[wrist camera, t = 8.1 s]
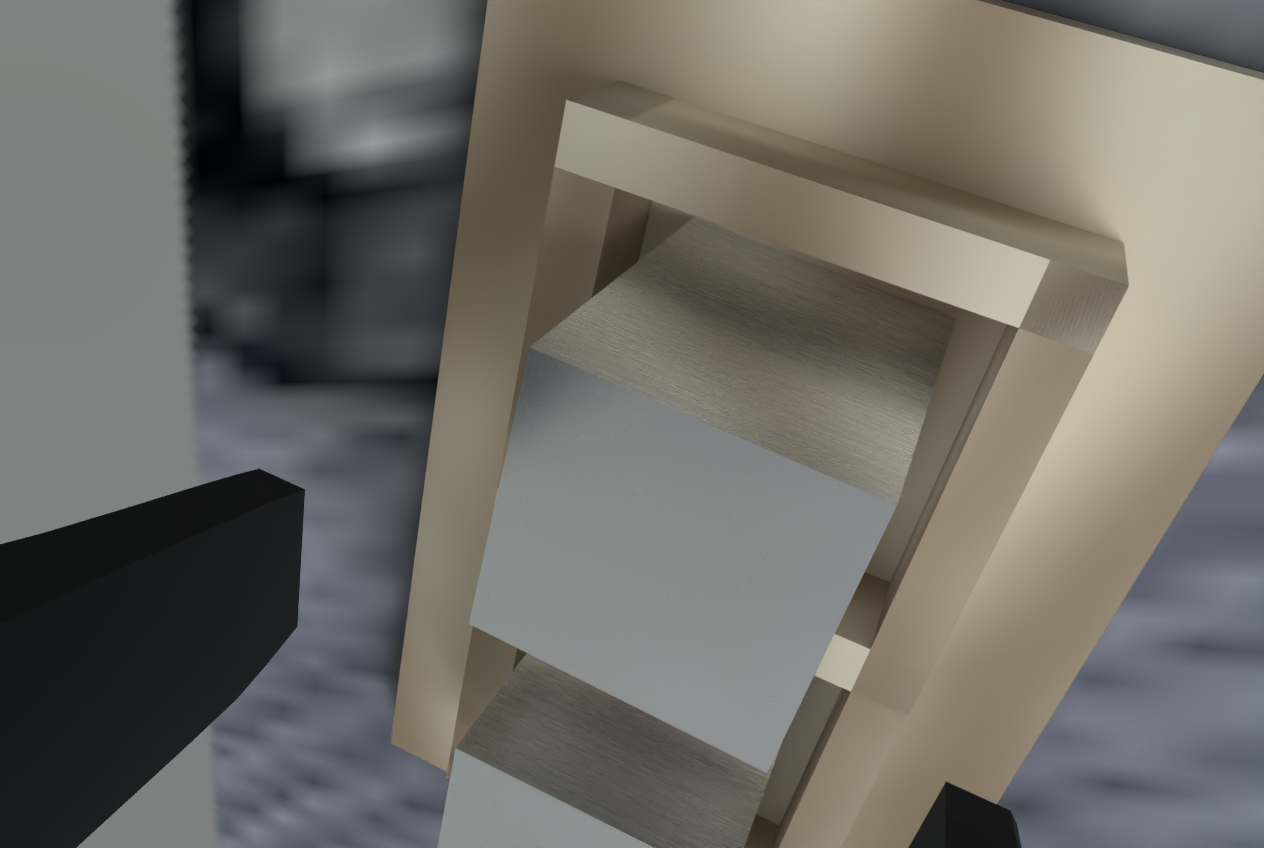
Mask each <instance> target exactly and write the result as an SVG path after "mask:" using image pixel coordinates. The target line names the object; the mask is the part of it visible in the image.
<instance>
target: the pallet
mask: <svg viewBox="0 0 1264 848" xmlns="http://www.w3.org/2000/svg"><path fill="white" fill-rule="evenodd" d="M694 217H695V218H697V219H700V220H703V221H705V222H708V223H710V224H713V225H716V226H718V227H721V228H723V229H726V230H729V231H731V232H734V233H736V234H739V235H741V236H744V237H747V238H749V239H752V240H754V241H757V242H760V243H762V244H765V245H767V246H770V247H772V248H775V249H778V250H780V251H783V252H785V253H788V254H791V255H793V256H796V257H798V258H801V259H803V260H806V261H809V262H811V263H814V264H816V265H819V266H822V267H824V268H827V269H829V270H832V271H834V272H837V273H840V274H842V275H845V276H847V277H850V278H853V279H855V280H858V281H860V282H863V283H865V284H868V285H871V286H873V287H876V288H878V289H881V290H884V291H886V292H889V293H891V294H894V295H896V296H899V297H902V298H904V299H907V300H909V301H912V302H915V303H917V304H920V305H922V306H925V307H927V308H930V309H933V310H935V311H938V312H940V313H943V314H946V315H948V316H951V317H953V318H956V321H955V324H954V327H953V330H952V333H951V337H950V340H949V343H948V346H947V349H946V352H945V355H944V359H943V362H942V365H941V368H940V371H939V374H938V378H937V381H936V384H935V387H934V390H933V393H932V397H931V400H930V403H929V406H928V409H927V412H926V415H925V419H924V422H923V425H922V428H921V431H920V434H919V438H918V441H917V444H916V447H915V450H914V453H913V457H912V460H911V463H910V466H909V469H908V472H907V475H906V479H905V482H904V485H903V488H902V491H901V494H900V498H899V501H898V504H897V506H896V509H895V511H894V513H893V515H892V517H891V519H890V521H889V523H888V525H887V527H886V529H885V531H884V533H883V535H882V537H881V539H880V541H879V544H878V546H877V548H876V550H875V552H874V554H873V556H872V558H871V560H870V562H869V564H868V566H867V568H866V570H865V572H864V574H863V576H862V578H861V581H860V583H859V585H858V587H857V589H856V591H855V593H854V595H853V597H852V599H851V601H850V603H849V605H848V607H847V609H846V611H845V613H844V616H843V618H842V620H841V622H840V624H839V626H838V628H837V630H836V632H835V634H834V636H833V638H832V640H831V642H830V644H829V646H828V648H827V650H826V653H825V655H824V657H823V659H822V661H821V663H820V665H819V667H818V669H817V671H816V673H815V675H814V677H813V679H812V681H811V683H810V685H809V688H808V690H807V692H806V694H805V696H804V698H803V700H802V702H801V704H800V706H799V708H798V710H797V712H796V714H795V716H794V718H793V720H792V722H791V725H790V727H789V729H788V731H787V733H786V735H785V737H784V739H783V741H782V744H781V747H780V749H779V752H778V755H777V758H776V760H775V763H774V766H773V769H772V771H771V774H770V777H769V780H768V782H767V785H766V788H765V790H764V793H763V796H762V799H761V801H760V804H759V807H758V810H757V812H756V815H755V818H754V821H753V823H752V826H751V829H750V832H749V834H748V837H747V840H746V843H745V845H744V848H909V846H910V844H911V842H912V840H913V839H914V837H915V835H916V833H917V832H918V830H919V828H920V826H921V825H922V823H923V821H924V819H925V818H926V816H927V814H928V812H929V811H930V809H931V807H932V805H933V804H934V802H935V800H936V798H937V796H938V795H939V793H940V791H941V789H942V788H943V786H944V784H945V782H949V783H951V784H953V785H955V786H957V787H960V788H962V789H964V790H966V791H968V792H971V793H973V794H975V795H977V796H979V797H981V798H984V799H986V800H988V801H990V802H992V803H995V804H997V803H998V802H999V800H1000V798H1001V797H1002V795H1003V793H1004V792H1005V790H1006V789H1007V787H1008V785H1009V784H1010V782H1011V781H1012V779H1013V777H1014V776H1015V774H1016V772H1017V771H1018V769H1019V768H1020V766H1021V764H1022V763H1023V761H1024V760H1025V758H1026V756H1027V755H1028V753H1029V751H1030V750H1031V748H1032V747H1033V745H1034V743H1035V742H1036V740H1037V739H1038V737H1039V735H1040V734H1041V732H1042V730H1043V729H1044V727H1045V726H1046V724H1047V722H1048V721H1049V719H1050V718H1051V716H1052V714H1053V713H1054V711H1055V709H1056V708H1057V706H1058V705H1059V703H1060V701H1061V700H1062V698H1063V697H1064V695H1065V693H1066V692H1067V690H1068V689H1069V687H1070V685H1071V684H1072V682H1073V680H1074V679H1075V677H1076V676H1077V674H1078V672H1079V671H1080V669H1081V668H1082V666H1083V664H1084V663H1085V661H1086V659H1087V658H1088V656H1089V655H1090V653H1091V651H1092V650H1093V648H1094V647H1095V645H1096V643H1097V642H1098V640H1099V638H1100V637H1101V635H1102V634H1103V632H1104V630H1105V629H1106V627H1107V626H1108V624H1109V622H1110V621H1111V619H1112V617H1113V616H1114V614H1115V613H1116V611H1117V609H1118V608H1119V606H1120V605H1121V603H1122V601H1123V600H1124V598H1125V596H1126V595H1127V593H1128V592H1129V590H1130V588H1131V587H1132V585H1133V584H1134V582H1135V580H1136V579H1137V577H1138V576H1139V574H1140V572H1141V571H1142V569H1143V567H1144V566H1145V564H1146V563H1147V561H1148V559H1149V558H1150V556H1151V555H1152V553H1153V551H1154V550H1155V548H1156V546H1157V545H1158V543H1159V542H1160V540H1161V538H1162V537H1163V535H1164V534H1165V532H1166V530H1167V529H1168V527H1169V525H1170V524H1171V522H1172V521H1173V519H1174V517H1175V516H1176V514H1177V513H1178V511H1179V509H1180V508H1181V506H1182V504H1183V503H1184V501H1185V500H1186V498H1187V496H1188V495H1189V493H1190V492H1191V490H1192V488H1193V487H1194V485H1195V483H1196V482H1197V480H1198V479H1199V477H1200V475H1201V474H1202V472H1203V471H1204V469H1205V467H1206V466H1207V464H1208V463H1209V461H1210V459H1211V458H1212V456H1213V454H1214V453H1215V451H1216V450H1217V448H1218V446H1219V445H1220V443H1221V442H1222V440H1223V438H1224V437H1225V435H1226V433H1227V432H1228V430H1229V429H1230V427H1231V425H1232V424H1233V422H1234V421H1235V419H1236V417H1237V416H1238V414H1239V412H1240V411H1241V409H1242V408H1243V406H1244V404H1245V403H1246V401H1247V400H1248V398H1249V396H1250V395H1251V393H1252V391H1253V390H1254V388H1255V387H1256V385H1257V383H1258V382H1259V380H1260V379H1261V377H1262V375H1263V374H1264V73H1262V72H1259V71H1255V70H1252V69H1248V68H1244V67H1241V66H1237V65H1234V64H1230V63H1226V62H1223V61H1219V60H1215V59H1212V58H1208V57H1205V56H1201V55H1197V54H1194V53H1190V52H1187V51H1183V50H1179V49H1176V48H1172V47H1169V46H1165V45H1161V44H1158V43H1154V42H1151V41H1147V40H1143V39H1140V38H1136V37H1133V36H1129V35H1125V34H1122V33H1118V32H1115V31H1111V30H1107V29H1104V28H1100V27H1097V26H1093V25H1089V24H1086V23H1082V22H1079V21H1075V20H1071V19H1068V18H1064V17H1061V16H1057V15H1053V14H1050V13H1046V12H1043V11H1039V10H1035V9H1032V8H1028V7H1025V6H1021V5H1017V4H1014V3H1010V2H1007V1H1003V0H488V2H487V10H486V17H485V25H484V33H483V40H482V48H481V56H480V63H479V71H478V78H477V86H476V94H475V101H474V109H473V117H472V124H471V132H470V140H469V147H468V155H467V162H466V170H465V178H464V185H463V193H462V201H461V208H460V216H459V224H458V231H457V239H456V246H455V254H454V262H453V269H452V277H451V285H450V292H449V300H448V308H447V315H446V323H445V330H444V338H443V346H442V353H441V361H440V369H439V376H438V384H437V392H436V399H435V407H434V414H433V422H432V430H431V437H430V445H429V453H428V460H427V468H426V476H425V483H424V491H423V498H422V506H421V514H420V521H419V529H418V537H417V544H416V552H415V560H414V567H413V575H412V582H411V590H410V598H409V605H408V613H407V621H406V628H405V636H404V644H403V651H402V659H401V666H400V674H399V682H398V689H397V697H396V705H395V712H394V720H393V728H392V735H391V744H393V745H395V746H397V747H399V748H401V749H403V750H405V751H407V752H409V753H411V754H413V755H415V756H417V757H419V758H421V759H423V760H424V761H426V762H428V763H430V764H432V765H434V766H436V767H438V768H440V769H442V770H444V771H446V772H447V774H446V779H448V780H450V776H451V770H452V764H453V759H454V753H455V748H456V747H457V745H458V744H459V743H460V741H461V740H462V739H463V737H464V736H465V735H466V733H467V732H468V731H469V729H470V728H471V727H472V725H473V724H474V723H475V721H476V720H477V719H478V717H479V716H480V715H481V713H482V712H483V711H484V709H485V708H486V707H487V705H488V704H489V703H490V701H491V700H492V699H493V697H494V696H495V695H496V693H497V692H498V691H499V689H500V688H501V687H502V685H503V684H504V683H505V681H506V680H507V679H508V677H509V676H510V675H511V673H512V672H513V671H514V669H515V668H516V667H517V665H518V664H519V663H520V661H521V660H522V659H523V657H524V656H525V655H526V652H524V651H522V650H520V649H518V648H516V647H514V646H512V645H510V644H508V643H506V642H504V641H502V640H500V639H498V638H496V637H494V636H492V635H490V634H488V633H486V632H484V631H482V630H480V629H478V628H476V627H474V626H472V625H470V624H469V621H470V616H471V611H472V607H473V602H474V598H475V593H476V589H477V584H478V580H479V575H480V570H481V566H482V561H483V557H484V552H485V548H486V543H487V539H488V534H489V529H490V525H491V520H492V516H493V511H494V507H495V502H496V498H497V493H498V488H499V484H500V479H501V475H502V470H503V466H504V461H505V457H506V452H507V447H508V443H509V438H510V434H511V429H512V425H513V420H514V416H515V411H516V406H517V402H518V397H519V393H520V388H521V384H522V379H523V375H524V370H525V365H526V361H527V356H528V352H529V347H530V346H532V345H533V344H534V343H535V342H537V341H538V340H539V339H540V338H542V337H543V336H544V335H546V334H547V333H548V332H549V331H551V330H552V329H553V328H554V327H556V326H557V325H558V324H559V323H561V322H562V321H563V320H565V319H566V318H567V317H568V316H570V315H571V314H572V313H573V312H575V311H576V310H577V309H579V308H580V307H581V306H582V305H584V304H585V303H586V302H587V301H589V300H590V299H591V298H592V297H594V296H595V295H596V294H598V293H599V292H600V291H601V290H603V289H604V288H605V287H606V286H608V285H609V284H610V283H612V282H613V281H614V280H615V279H617V278H618V277H619V276H620V275H622V274H623V273H624V272H625V271H627V270H628V269H629V268H631V267H632V266H633V265H634V264H636V263H637V262H638V261H639V260H641V259H642V258H643V257H645V256H646V255H647V254H648V253H650V252H651V251H652V250H653V249H655V248H656V247H657V246H658V245H660V244H661V243H662V242H664V241H665V240H666V239H667V238H669V237H670V236H671V235H672V234H674V233H675V232H676V231H678V230H679V229H680V228H681V227H683V226H684V225H685V224H686V223H688V222H689V221H690V220H691V219H693V218H694Z"/></svg>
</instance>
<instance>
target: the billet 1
mask: <svg viewBox="0 0 1264 848" xmlns="http://www.w3.org/2000/svg"><path fill="white" fill-rule="evenodd" d="M955 321H956V318H953V317H951V316H948V315H946V314H943V313H940V312H938V311H935V310H933V309H930V308H927V307H925V306H922V305H920V304H917V303H915V302H912V301H909V300H907V299H904V298H902V297H899V296H896V295H894V294H891V293H889V292H886V291H884V290H881V289H878V288H876V287H873V286H871V285H868V284H865V283H863V282H860V281H858V280H855V279H853V278H850V277H847V276H845V275H842V274H840V273H837V272H834V271H832V270H829V269H827V268H824V267H822V266H819V265H816V264H814V263H811V262H809V261H806V260H803V259H801V258H798V257H796V256H793V255H791V254H788V253H785V252H783V251H780V250H778V249H775V248H772V247H770V246H767V245H765V244H762V243H760V242H757V241H754V240H752V239H749V238H747V237H744V236H741V235H739V234H736V233H734V232H731V231H729V230H726V229H723V228H721V227H718V226H716V225H713V224H710V223H708V222H705V221H703V220H700V219H697V218H695V217H694V218H693V219H691V220H690V221H689V222H688V223H686V224H685V225H684V226H683V227H681V228H680V229H679V230H678V231H676V232H675V233H674V234H672V235H671V236H670V237H669V238H667V239H666V240H665V241H664V242H662V243H661V244H660V245H658V246H657V247H656V248H655V249H653V250H652V251H651V252H650V253H648V254H647V255H646V256H645V257H643V258H642V259H641V260H639V261H638V262H637V263H636V264H634V265H633V266H632V267H631V268H629V269H628V270H627V271H625V272H624V273H623V274H622V275H620V276H619V277H618V278H617V279H615V280H614V281H613V282H612V283H610V284H609V285H608V286H606V287H605V288H604V289H603V290H601V291H600V292H599V293H598V294H596V295H595V296H594V297H592V298H591V299H590V300H589V301H587V302H586V303H585V304H584V305H582V306H581V307H580V308H579V309H577V310H576V311H575V312H573V313H572V314H571V315H570V316H568V317H567V318H566V319H565V320H563V321H562V322H561V323H559V324H558V325H557V326H556V327H554V328H553V329H552V330H551V331H549V332H548V333H547V334H546V335H544V336H543V337H542V338H540V339H539V340H538V341H537V342H535V343H534V344H533V345H532V346H530V347H529V352H528V356H527V361H526V365H525V370H524V375H523V379H522V384H521V388H520V393H519V397H518V402H517V406H516V411H515V416H514V420H513V425H512V429H511V434H510V438H509V443H508V447H507V452H506V457H505V461H504V466H503V470H502V475H501V479H500V484H499V488H498V493H497V498H496V502H495V507H494V511H493V516H492V520H491V525H490V529H489V534H488V539H487V543H486V548H485V552H484V557H483V561H482V566H481V570H480V575H479V580H478V584H477V589H476V593H475V598H474V602H473V607H472V611H471V616H470V621H469V624H470V625H472V626H474V627H476V628H478V629H480V630H482V631H484V632H486V633H488V634H490V635H492V636H494V637H496V638H498V639H500V640H502V641H504V642H506V643H508V644H510V645H512V646H514V647H516V648H518V649H520V650H522V651H524V652H526V653H528V654H530V655H532V656H534V657H536V658H538V659H540V660H542V661H544V662H546V663H548V664H550V665H552V666H554V667H556V668H558V669H560V670H562V671H564V672H566V673H568V674H570V675H572V676H574V677H576V678H578V679H580V680H582V681H584V682H586V683H588V684H590V685H592V686H594V687H596V688H598V689H600V690H602V691H604V692H606V693H608V694H610V695H612V696H614V697H616V698H618V699H620V700H622V701H624V702H626V703H628V704H630V705H632V706H634V707H636V708H638V709H640V710H642V711H644V712H646V713H648V714H650V715H652V716H654V717H656V718H658V719H660V720H662V721H664V722H666V723H668V724H670V725H672V726H674V727H676V728H678V729H680V730H682V731H684V732H686V733H688V734H690V735H692V736H694V737H696V738H698V739H700V740H702V741H704V742H706V743H708V744H710V745H712V746H714V747H716V748H718V749H720V750H722V751H724V752H726V753H728V754H730V755H732V756H734V757H736V758H738V759H740V760H742V761H744V762H746V763H748V764H750V765H752V766H754V767H756V768H758V769H760V770H762V771H764V772H766V773H767V772H768V770H769V768H770V766H771V764H772V762H773V759H774V757H775V755H776V753H777V751H778V749H779V747H780V745H781V743H782V741H783V739H784V737H785V735H786V733H787V731H788V729H789V727H790V725H791V722H792V720H793V718H794V716H795V714H796V712H797V710H798V708H799V706H800V704H801V702H802V700H803V698H804V696H805V694H806V692H807V690H808V688H809V685H810V683H811V681H812V679H813V677H814V675H815V673H816V671H817V669H818V667H819V665H820V663H821V661H822V659H823V657H824V655H825V653H826V650H827V648H828V646H829V644H830V642H831V640H832V638H833V636H834V634H835V632H836V630H837V628H838V626H839V624H840V622H841V620H842V618H843V616H844V613H845V611H846V609H847V607H848V605H849V603H850V601H851V599H852V597H853V595H854V593H855V591H856V589H857V587H858V585H859V583H860V581H861V578H862V576H863V574H864V572H865V570H866V568H867V566H868V564H869V562H870V560H871V558H872V556H873V554H874V552H875V550H876V548H877V546H878V544H879V541H880V539H881V537H882V535H883V533H884V531H885V529H886V527H887V525H888V523H889V521H890V519H891V517H892V515H893V513H894V511H895V509H896V506H897V504H898V501H899V498H900V494H901V491H902V488H903V485H904V482H905V479H906V475H907V472H908V469H909V466H910V463H911V460H912V457H913V453H914V450H915V447H916V444H917V441H918V438H919V434H920V431H921V428H922V425H923V422H924V419H925V415H926V412H927V409H928V406H929V403H930V400H931V397H932V393H933V390H934V387H935V384H936V381H937V378H938V374H939V371H940V368H941V365H942V362H943V359H944V355H945V352H946V349H947V346H948V343H949V340H950V337H951V333H952V330H953V327H954V324H955Z"/></svg>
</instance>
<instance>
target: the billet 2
mask: <svg viewBox="0 0 1264 848" xmlns="http://www.w3.org/2000/svg"><path fill="white" fill-rule="evenodd" d="M781 744H782V743H781ZM780 747H781V745H780ZM780 747H779V749H780ZM779 749H778V751H777V753H776V755H775V757H774V759H773V762H772V764H771V766H770V768H769V770H768V772H767V773H766V772H764V771H762V770H760V769H758V768H756V767H754V766H752V765H750V764H748V763H746V762H744V761H742V760H740V759H738V758H736V757H734V756H732V755H730V754H728V753H726V752H724V751H722V750H720V749H718V748H716V747H714V746H712V745H710V744H708V743H706V742H704V741H702V740H700V739H698V738H696V737H694V736H692V735H690V734H688V733H686V732H684V731H682V730H680V729H678V728H676V727H674V726H672V725H670V724H668V723H666V722H664V721H662V720H660V719H658V718H656V717H654V716H652V715H650V714H648V713H646V712H644V711H642V710H640V709H638V708H636V707H634V706H632V705H630V704H628V703H626V702H624V701H622V700H620V699H618V698H616V697H614V696H612V695H610V694H608V693H606V692H604V691H602V690H600V689H598V688H596V687H594V686H592V685H590V684H588V683H586V682H584V681H582V680H580V679H578V678H576V677H574V676H572V675H570V674H568V673H566V672H564V671H562V670H560V669H558V668H556V667H554V666H552V665H550V664H548V663H546V662H544V661H542V660H540V659H538V658H536V657H534V656H532V655H530V654H528V653H526V655H525V656H524V657H523V659H522V660H521V661H520V663H519V664H518V665H517V667H516V668H515V669H514V671H513V672H512V673H511V675H510V676H509V677H508V679H507V680H506V681H505V683H504V684H503V685H502V687H501V688H500V689H499V691H498V692H497V693H496V695H495V696H494V697H493V699H492V700H491V701H490V703H489V704H488V705H487V707H486V708H485V709H484V711H483V712H482V713H481V715H480V716H479V717H478V719H477V720H476V721H475V723H474V724H473V725H472V727H471V728H470V729H469V731H468V732H467V733H466V735H465V736H464V737H463V739H462V740H461V741H460V743H459V744H458V745H457V747H456V748H455V753H454V759H453V764H452V770H451V776H450V781H449V787H448V792H447V798H446V803H445V809H444V814H443V820H442V825H441V831H440V836H439V842H438V847H437V848H744V845H745V843H746V840H747V837H748V834H749V832H750V829H751V826H752V823H753V821H754V818H755V815H756V812H757V810H758V807H759V804H760V801H761V799H762V796H763V793H764V790H765V788H766V785H767V782H768V780H769V777H770V774H771V771H772V769H773V766H774V763H775V760H776V758H777V755H778V752H779Z"/></svg>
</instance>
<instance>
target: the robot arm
mask: <svg viewBox="0 0 1264 848" xmlns="http://www.w3.org/2000/svg"><path fill="white" fill-rule="evenodd" d="M304 496H305V489H302V488H300V487H298V486H296V485H294V484H291V483H289V482H287V481H285V480H283V479H281V478H278V477H276V476H274V475H272V474H270V473H267V472H265V471H263V470H261V469H257V470H253V471H249V472H245V473H241V474H237V475H234V476H230V477H227V478H223V479H220V480H216V481H213V482H210V483H206V484H203V485H200V486H196V487H193V488H190V489H187V490H183V491H180V492H177V493H174V494H171V495H167V496H164V497H161V498H157V499H154V500H151V501H148V502H145V503H141V504H138V505H135V506H132V507H128V508H125V509H122V510H118V511H115V512H112V513H109V514H105V515H102V516H98V517H95V518H92V519H89V520H85V521H82V522H79V523H75V524H72V525H69V526H66V527H62V528H59V529H55V530H52V531H49V532H45V533H42V534H38V535H34V536H30V537H26V538H23V539H19V540H15V541H12V542H8V543H4V544H0V848H76V847H78V846H79V845H80V844H81V843H82V842H83V841H84V840H85V839H86V838H87V837H88V836H89V835H90V834H91V833H92V832H94V831H95V830H96V829H97V828H98V827H99V826H100V825H101V824H103V823H104V822H105V820H107V819H108V818H109V817H110V816H111V815H112V814H113V813H114V812H116V811H117V810H118V809H119V808H120V807H121V806H122V805H123V804H124V803H125V802H126V801H128V799H129V798H131V797H132V796H133V795H134V794H135V793H136V792H137V791H138V790H140V789H141V788H142V787H143V786H144V785H145V784H146V783H147V782H148V781H149V780H150V779H151V778H153V777H154V776H155V775H156V774H157V773H158V772H159V771H160V770H161V769H162V768H163V767H165V765H167V764H168V763H169V762H170V761H171V760H172V759H173V758H174V757H175V756H176V755H178V754H179V753H180V752H181V751H182V750H183V749H184V748H185V747H186V746H187V745H188V744H189V743H191V742H192V741H193V740H194V739H195V738H196V737H197V736H198V735H199V734H200V733H201V732H202V731H203V730H204V729H205V728H207V727H208V726H209V725H210V724H211V723H212V722H213V721H214V720H215V719H216V718H217V717H218V716H219V715H220V714H221V713H223V712H224V711H225V710H226V709H227V708H228V707H229V706H230V705H231V704H232V703H233V702H234V701H235V700H236V699H237V698H238V697H239V696H240V695H241V693H242V692H243V691H244V690H245V689H246V688H247V687H248V685H249V684H250V683H251V682H252V681H253V680H254V678H255V677H256V676H257V675H258V674H259V673H260V672H261V670H262V669H263V668H264V667H265V666H266V665H267V663H268V662H269V661H270V660H271V658H272V657H273V656H274V655H275V653H276V652H277V651H278V650H279V649H280V647H281V646H282V645H283V644H284V642H285V641H286V640H287V639H288V637H289V636H290V635H291V634H292V633H293V631H294V630H295V629H296V628H297V621H298V603H299V585H300V567H301V550H302V532H303V514H304ZM909 848H1021V843H1020V838H1019V833H1018V828H1017V824H1016V822H1015V819H1014V817H1013V815H1012V813H1011V811H1010V810H1008V809H1006V808H1003V807H1001V806H999V805H997V804H995V803H992V802H990V801H988V800H986V799H984V798H981V797H979V796H977V795H975V794H973V793H971V792H968V791H966V790H964V789H962V788H960V787H957V786H955V785H953V784H951V783H949V782H945V784H944V786H943V788H942V789H941V791H940V793H939V795H938V796H937V798H936V800H935V802H934V804H933V805H932V807H931V809H930V811H929V812H928V814H927V816H926V818H925V819H924V821H923V823H922V825H921V826H920V828H919V830H918V832H917V833H916V835H915V837H914V839H913V840H912V842H911V844H910V846H909Z"/></svg>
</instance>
